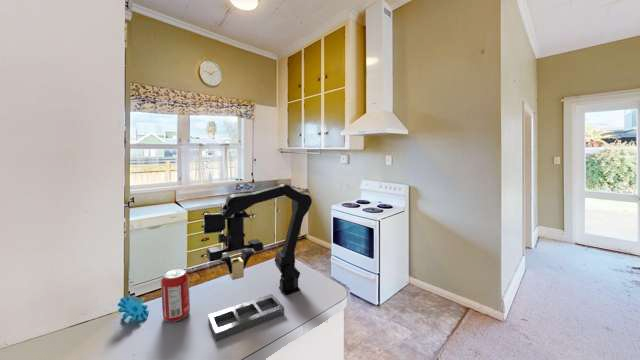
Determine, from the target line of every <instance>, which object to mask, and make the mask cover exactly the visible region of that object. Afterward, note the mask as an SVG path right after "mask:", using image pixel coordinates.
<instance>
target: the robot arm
mask: <svg viewBox="0 0 640 360" xmlns="http://www.w3.org/2000/svg"><path fill="white" fill-rule="evenodd" d="M284 196H285V197H287V198H288V199H290V200H291V212H292V213H291V217H290V220H289V225H288V229H287V232H286V236H285V238H284V239H285V240H284V244H283V247H282V249H281V250H280V251H279V250H277V251H276V256H275V258H274V260H273V261H274V263H275V266H276V268H277V269H278V271H279V272H280V279H279V287H278V289H280V291H282V292H281V293H283V294H284V295H285V296H287V295H290V294H293V293H296V292H299V291H300V290H301V288H300V287H299V278H300V275H301V272H300V271H299V270H298V269H297V267H296V256H295V255H296V254H295V252H296V251H295V250H296V247H297V244H298V239H299V236H300V231H301V228H302V224H303V222H304V221H303V220H304V217H305V216H306V215H307V213H308V212H309V211H310V208H311V205H312V202H313V201H312V198H311V197H312V196H310V195H309V194H307V193H304V192H302V191H297V190H296V189H294V188H292V187H291V186H290V185H288V184H286V183H281V184H279V185H276V186H271V187H269V188H267V187H266V188H264V189H261V190H257V191H254V192H250V193H249V192H245V193H243V192H240V193H239V192H238V193H232V194H229V195H227V197H226V199H225V204H224V205H223V206H222V208H221V210H220V211H219V212H214V213H212V212H211V213H209V212H205V213H203V234H204V235H210V234H217V233H220V234H217V235H218V236H217V240H218V244H223V245H224V246H225V248H220V246H214V247H208V248H207V249H206V253H205V255H206V258H207V259H208V260H209V262H215V261H221V262H224V263H225V265H226V268H227V271H228V274H229V273H230V274H231V271H232V270H231V259H232V258H231V257H230V255H229V254H232V253H237V252H240V253H241V259H242V260H243V261H244V269H246V266H247V264H248V261H249V260H250V259H251V257H252V256H253V255H254V254H255V253H254V252H253V251H255V252H256V253H257V252H261V251H263V250H264V243H263V242H261V240H259V239H258V238H255V239H249V240H248V241H247V243H245V238H246V233H245V220H244V219H245V218H247V219H248V218H250V217H251V216H250V215H249V214H250V213H248V212H246V210H247V209H249V208H251V207H252V206H253V205H256V204H259V203H263V202H266V201H270V200H273V199H277V198H280V197H284ZM224 230H226V233H222V232H223V231H224ZM225 234H226V235H225Z"/></svg>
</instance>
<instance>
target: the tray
mask: <svg viewBox="0 0 640 360" xmlns="http://www.w3.org/2000/svg"><path fill="white" fill-rule="evenodd" d="M269 305H272V306H273V307H271V308H269V309H265V310H262V309H261V308H263V307H267V306H269ZM249 312H253V313H254V314H253V315H249V316H247V317H244V318H241V317H240V315H243V314H246V313H249ZM284 315H285V307H284V306H283V305H282V304H281V302H280V301H279V300H278V299H277V297H275V296H274V294H272V293H271V294H267V295H265V296H264V295H263V296H261V297H259V298H255V299H252V300H249V301H246V302H243V303H239V304H237V305H234V306H232V307H228V308H226V309H222V310H218V311H216V312H213V313H209V314H208V325H209V327H210V329H211V332H212V335H213V337H214V340H215V342H218V341H220V340H223V339H225V338H228V337H230V336H233V335H236V334H238V333H240V332H243V331H246V330H248V329H251V328H253V327H256V326H259V325H261V324H263V323H266V322H269V321H271V320H274V319H277V318H279V317H281V316H284ZM229 319H233V322H231V323H227V324H225V325H223V326H219V327H218V325H217V324H218V323H221V322H224V321H227V320H229Z"/></svg>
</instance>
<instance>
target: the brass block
mask: <svg viewBox="0 0 640 360" xmlns="http://www.w3.org/2000/svg"><path fill="white" fill-rule="evenodd" d="M231 270H232V271H231V274H230V273H229V272H228V276H229V277H230V279H231V280H232V281H235V280H238V279H242V278H244V276H245V274H244V273H245V268H244V261H243V260H242V257H241V256H240V257H235V258H231Z"/></svg>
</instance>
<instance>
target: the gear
mask: <svg viewBox="0 0 640 360" xmlns="http://www.w3.org/2000/svg"><path fill="white" fill-rule="evenodd" d="M131 299H132V300H131ZM138 299H139V297H137V296H133V298H132V295H127V296H126V297H125V296H123V297H121V298H120V299H119V302H118V303H117V306H118V307H119V308H118V310H117V311H118V313H123V315H121V316H122V317H121V318H120V322H122V321H123V322H124V321H125V320H126V319H127V318H128V317H130V318H129V319H128V321H130V322H132V323H133V322H134V321H136V322H137V323H141V322H142V321H144V320H146V319H147V318H148V314H149V313H150V311H149V309H148V307H149V306H148V304H145V305H144V302H145V298H144V297H141V298H140V299H139V300H138ZM137 300H138V301H137ZM147 309H148V310H147Z"/></svg>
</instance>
